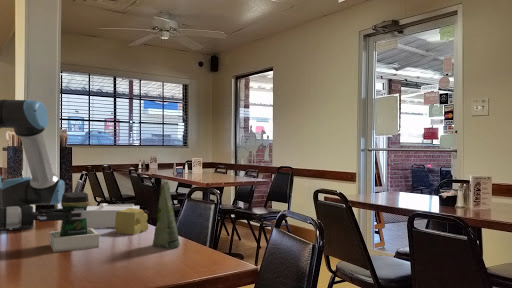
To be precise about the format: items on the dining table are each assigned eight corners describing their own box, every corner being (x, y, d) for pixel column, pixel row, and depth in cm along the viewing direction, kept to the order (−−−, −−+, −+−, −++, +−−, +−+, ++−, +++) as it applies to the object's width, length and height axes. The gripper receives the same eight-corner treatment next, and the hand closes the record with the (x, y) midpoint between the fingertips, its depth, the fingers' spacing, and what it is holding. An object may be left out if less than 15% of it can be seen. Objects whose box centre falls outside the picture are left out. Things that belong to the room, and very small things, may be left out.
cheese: (148, 230, 186) (148, 209, 186) (134, 235, 176) (134, 212, 176) (129, 229, 189) (129, 207, 189) (114, 233, 179) (114, 210, 179)
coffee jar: (62, 244, 149) (63, 193, 150) (58, 240, 156) (59, 191, 156) (90, 241, 155) (91, 192, 155) (84, 237, 161) (85, 190, 162)
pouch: (161, 251, 149) (163, 183, 149) (143, 246, 157) (145, 181, 157) (186, 246, 157) (187, 181, 157) (168, 241, 165) (169, 179, 165)
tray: (49, 244, 157) (50, 231, 157) (92, 240, 165) (92, 228, 165) (53, 252, 145) (53, 238, 146) (98, 247, 154) (99, 234, 154)
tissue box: (88, 223, 204) (88, 201, 204) (139, 222, 208) (139, 201, 208) (79, 228, 190) (80, 205, 190) (135, 228, 193) (135, 205, 194)
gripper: (19, 222, 155) (83, 218, 167) (21, 232, 137) (93, 226, 149) (19, 203, 155) (83, 199, 167) (21, 210, 137) (93, 206, 149)
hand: (88, 212), depth 158 cm, fingers closed on coffee jar, 8 cm apart
